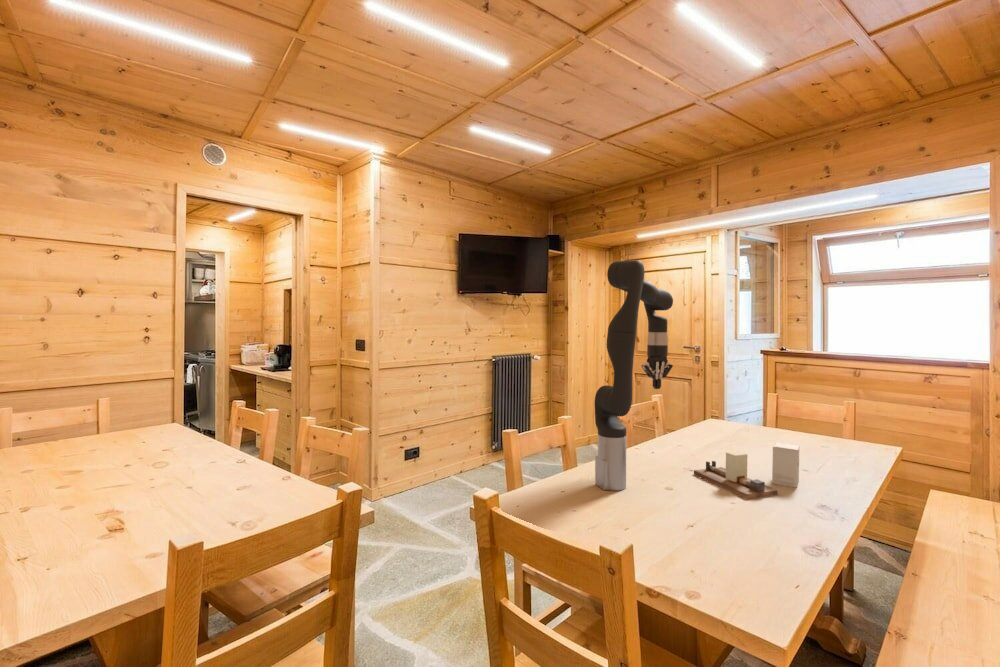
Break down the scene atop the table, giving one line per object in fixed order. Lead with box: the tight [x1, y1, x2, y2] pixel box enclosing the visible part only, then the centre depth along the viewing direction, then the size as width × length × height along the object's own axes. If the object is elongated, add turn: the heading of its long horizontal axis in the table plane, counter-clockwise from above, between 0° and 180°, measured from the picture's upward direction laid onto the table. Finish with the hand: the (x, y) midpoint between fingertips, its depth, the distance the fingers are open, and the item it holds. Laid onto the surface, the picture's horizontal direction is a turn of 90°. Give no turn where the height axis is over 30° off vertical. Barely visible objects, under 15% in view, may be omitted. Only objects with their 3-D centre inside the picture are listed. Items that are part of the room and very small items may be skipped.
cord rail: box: [693, 460, 779, 500], centre depth 156 cm, size 12×24×4 cm, turn 16°
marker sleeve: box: [725, 450, 748, 482], centre depth 154 cm, size 5×4×9 cm
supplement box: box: [771, 442, 800, 488], centre depth 157 cm, size 7×7×13 cm
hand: (656, 388), depth 179 cm, fingers closed
